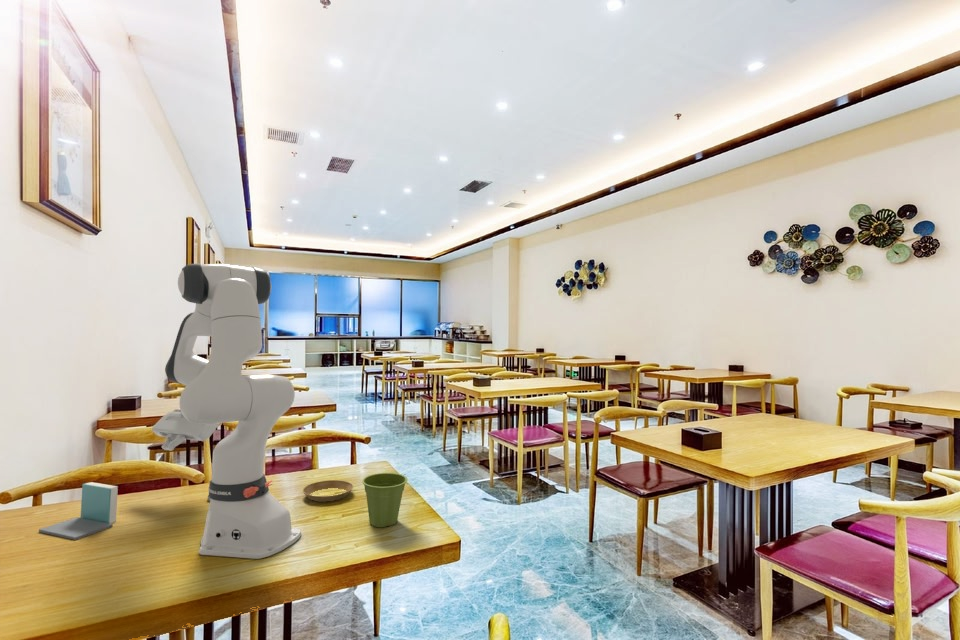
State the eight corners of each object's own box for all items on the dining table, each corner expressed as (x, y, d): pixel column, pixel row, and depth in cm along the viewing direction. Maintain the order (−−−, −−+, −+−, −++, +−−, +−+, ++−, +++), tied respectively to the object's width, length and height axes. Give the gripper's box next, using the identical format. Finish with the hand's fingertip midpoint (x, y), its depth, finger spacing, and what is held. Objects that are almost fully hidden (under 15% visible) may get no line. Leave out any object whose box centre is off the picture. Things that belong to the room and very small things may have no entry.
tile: (115, 521, 115) (117, 486, 116) (107, 524, 113) (109, 488, 114) (89, 516, 118) (91, 482, 119) (80, 519, 116) (82, 484, 117)
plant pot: (359, 533, 111) (360, 487, 111) (362, 515, 123) (363, 473, 123) (407, 530, 113) (408, 485, 114) (405, 512, 125) (406, 471, 125)
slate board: (112, 526, 112) (112, 524, 112) (75, 540, 104) (75, 537, 105) (76, 519, 116) (77, 517, 116) (38, 531, 108) (38, 529, 108)
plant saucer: (361, 490, 143) (361, 482, 143) (336, 507, 128) (337, 498, 128) (320, 486, 146) (320, 478, 146) (291, 502, 132) (292, 493, 132)
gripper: (166, 403, 144) (133, 440, 134) (216, 407, 138) (185, 446, 128) (179, 415, 148) (148, 451, 138) (227, 419, 142) (198, 458, 132)
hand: (166, 449), depth 133 cm, fingers closed
